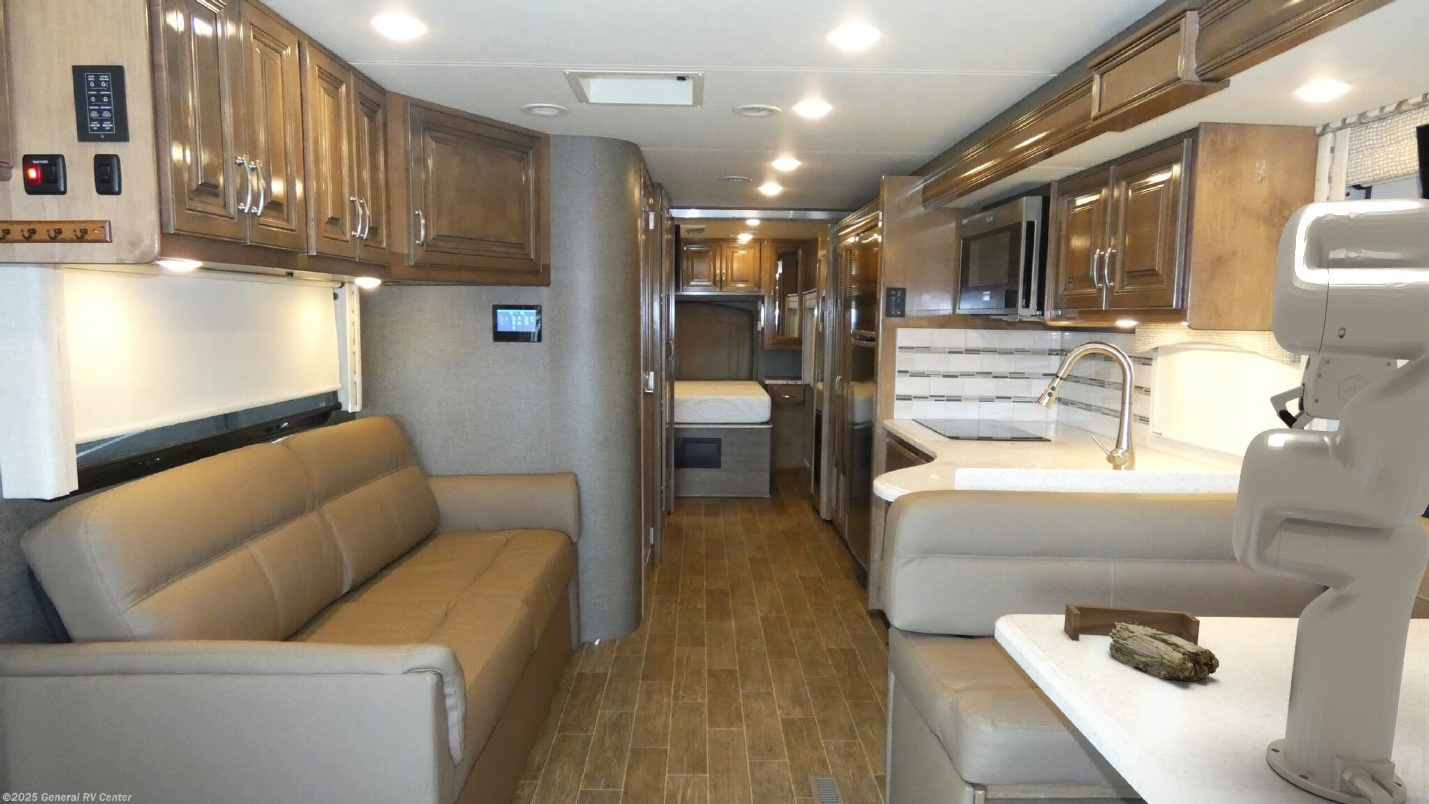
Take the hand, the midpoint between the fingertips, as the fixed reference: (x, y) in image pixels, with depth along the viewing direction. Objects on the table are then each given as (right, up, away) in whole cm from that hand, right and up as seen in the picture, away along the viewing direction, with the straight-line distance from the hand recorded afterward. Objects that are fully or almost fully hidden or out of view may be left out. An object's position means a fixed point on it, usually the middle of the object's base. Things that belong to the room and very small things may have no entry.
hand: (1338, 461), depth 112 cm
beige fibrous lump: (-20, -32, +8) cm, 39 cm away
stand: (-19, -30, +19) cm, 40 cm away
